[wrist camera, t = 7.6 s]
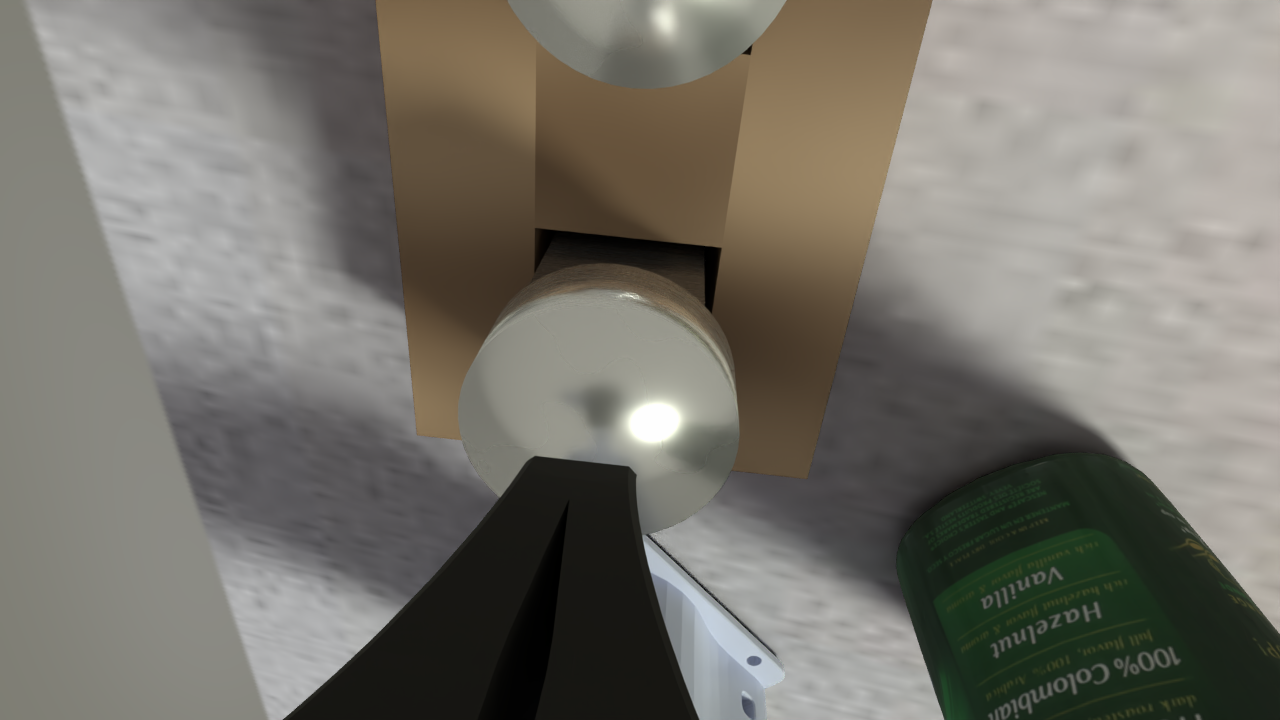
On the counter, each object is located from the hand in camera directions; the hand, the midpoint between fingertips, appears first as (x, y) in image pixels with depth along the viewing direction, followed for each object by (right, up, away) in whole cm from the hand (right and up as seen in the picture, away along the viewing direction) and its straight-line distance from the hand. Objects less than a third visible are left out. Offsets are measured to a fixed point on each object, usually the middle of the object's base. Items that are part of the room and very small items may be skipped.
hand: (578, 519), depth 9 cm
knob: (+1, +4, +7) cm, 8 cm away
